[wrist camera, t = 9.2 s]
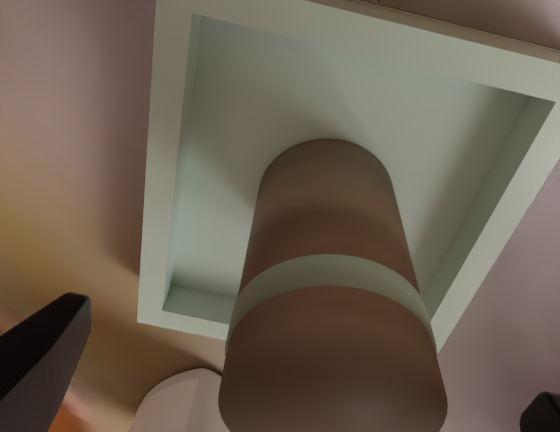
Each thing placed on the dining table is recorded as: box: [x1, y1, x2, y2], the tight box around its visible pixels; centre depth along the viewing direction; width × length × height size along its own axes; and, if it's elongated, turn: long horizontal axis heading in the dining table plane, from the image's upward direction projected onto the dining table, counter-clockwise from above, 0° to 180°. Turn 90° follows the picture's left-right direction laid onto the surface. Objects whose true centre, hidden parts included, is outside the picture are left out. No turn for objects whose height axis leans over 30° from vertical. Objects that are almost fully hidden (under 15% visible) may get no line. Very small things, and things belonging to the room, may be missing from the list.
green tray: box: [137, 0, 560, 355], centre depth 14 cm, size 11×10×2 cm
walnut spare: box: [218, 138, 448, 432], centre depth 11 cm, size 4×4×7 cm
